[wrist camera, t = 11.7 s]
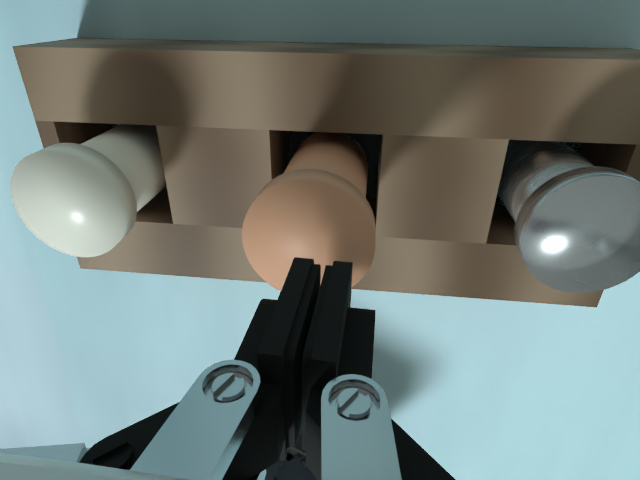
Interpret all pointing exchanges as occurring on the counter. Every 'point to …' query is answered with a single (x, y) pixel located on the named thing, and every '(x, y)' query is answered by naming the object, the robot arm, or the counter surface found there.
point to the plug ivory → (89, 189)
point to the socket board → (340, 117)
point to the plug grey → (571, 216)
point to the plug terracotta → (313, 211)
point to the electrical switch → (291, 465)
